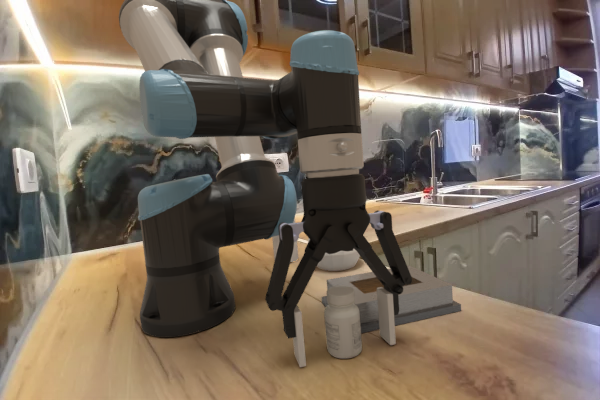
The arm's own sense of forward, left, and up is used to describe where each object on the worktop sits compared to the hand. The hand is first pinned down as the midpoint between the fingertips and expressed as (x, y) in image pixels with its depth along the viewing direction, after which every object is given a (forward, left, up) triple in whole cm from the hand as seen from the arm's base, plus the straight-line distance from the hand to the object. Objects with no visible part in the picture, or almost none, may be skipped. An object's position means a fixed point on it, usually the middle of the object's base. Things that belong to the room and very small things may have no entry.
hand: (345, 349), depth 40 cm
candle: (+2, +44, 0) cm, 44 cm away
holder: (+11, +9, 0) cm, 14 cm away
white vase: (+12, +34, 0) cm, 36 cm away
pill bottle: (0, 0, 0) cm, 1 cm away
